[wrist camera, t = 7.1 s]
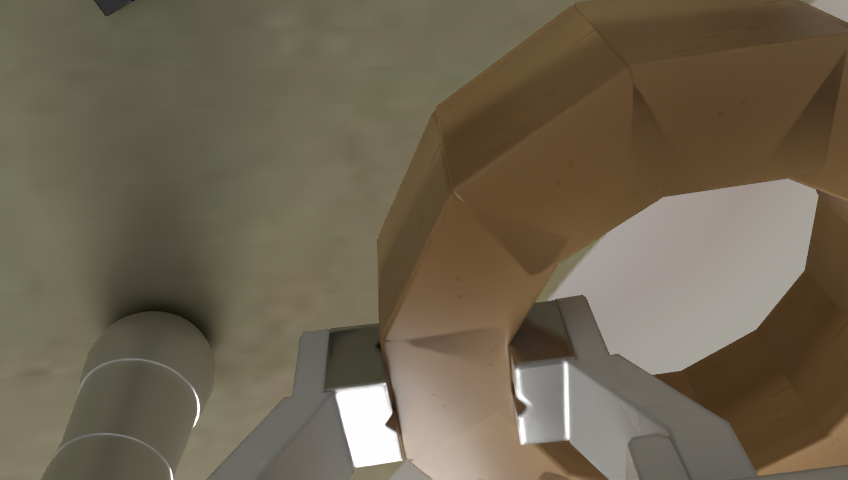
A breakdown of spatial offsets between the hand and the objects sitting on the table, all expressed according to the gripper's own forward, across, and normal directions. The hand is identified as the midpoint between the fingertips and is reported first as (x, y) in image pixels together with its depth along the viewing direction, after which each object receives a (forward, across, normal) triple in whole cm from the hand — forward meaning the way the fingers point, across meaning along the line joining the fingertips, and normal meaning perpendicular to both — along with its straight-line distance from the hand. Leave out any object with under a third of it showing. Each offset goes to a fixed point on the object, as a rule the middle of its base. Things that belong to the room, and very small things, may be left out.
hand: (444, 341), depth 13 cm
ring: (+2, -4, 0) cm, 5 cm away
